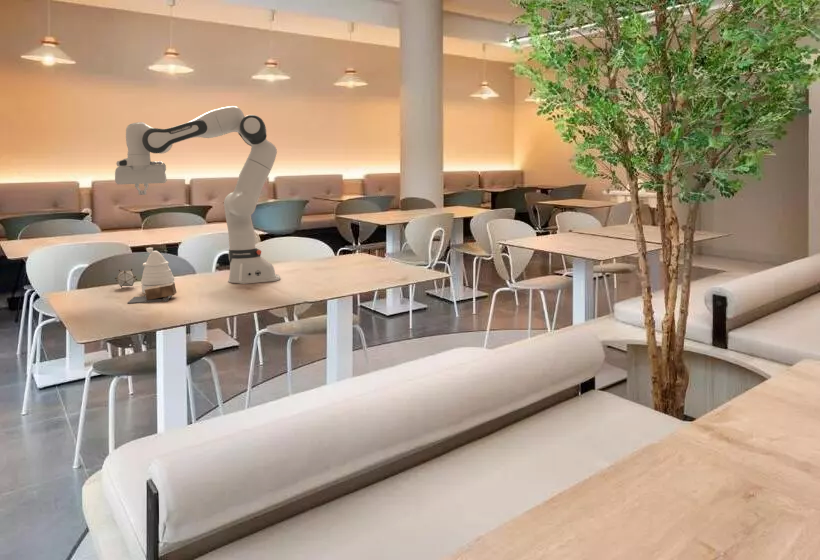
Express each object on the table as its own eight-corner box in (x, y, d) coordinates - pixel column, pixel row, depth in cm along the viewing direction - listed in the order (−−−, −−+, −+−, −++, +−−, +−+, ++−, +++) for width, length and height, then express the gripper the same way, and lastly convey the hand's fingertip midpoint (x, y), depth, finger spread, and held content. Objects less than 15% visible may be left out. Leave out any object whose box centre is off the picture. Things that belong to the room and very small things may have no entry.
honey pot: (143, 295, 254) (139, 250, 251) (140, 290, 266) (136, 247, 263) (177, 291, 260) (173, 247, 257) (173, 287, 271) (169, 245, 268)
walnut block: (174, 282, 248) (147, 287, 246) (171, 285, 242) (144, 289, 241) (176, 292, 249) (149, 297, 247) (174, 295, 243) (146, 300, 241)
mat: (166, 295, 251) (166, 294, 251) (161, 301, 240) (161, 300, 240) (134, 297, 249) (134, 296, 249) (127, 303, 237) (127, 302, 237)
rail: (172, 294, 253) (172, 291, 253) (167, 301, 239) (166, 298, 239) (169, 295, 252) (169, 292, 252) (163, 301, 239) (163, 298, 239)
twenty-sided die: (129, 297, 272) (126, 280, 265) (112, 289, 273) (108, 273, 266) (142, 283, 278) (140, 267, 271) (125, 276, 279) (122, 260, 272)
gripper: (166, 161, 275) (169, 193, 278) (115, 162, 271) (119, 195, 273) (164, 161, 269) (167, 194, 272) (112, 162, 265) (115, 195, 267)
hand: (142, 194), depth 272 cm, fingers closed
